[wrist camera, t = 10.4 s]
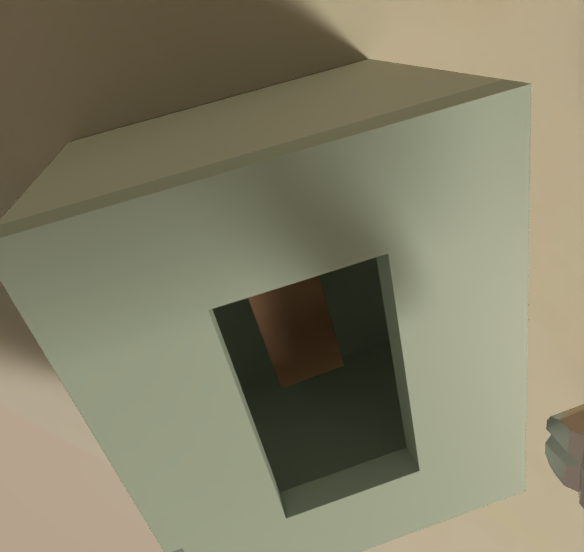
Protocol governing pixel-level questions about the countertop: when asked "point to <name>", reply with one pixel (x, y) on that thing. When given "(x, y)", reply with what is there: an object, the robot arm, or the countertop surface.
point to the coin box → (281, 272)
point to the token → (297, 331)
